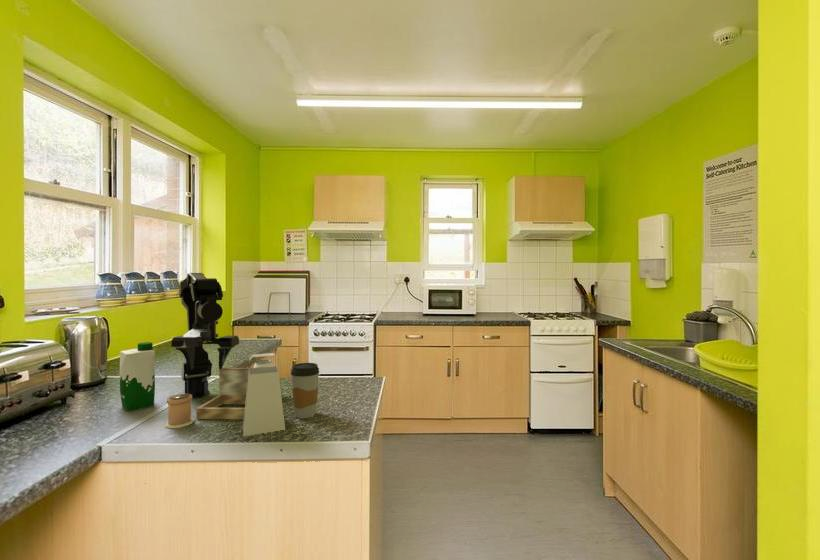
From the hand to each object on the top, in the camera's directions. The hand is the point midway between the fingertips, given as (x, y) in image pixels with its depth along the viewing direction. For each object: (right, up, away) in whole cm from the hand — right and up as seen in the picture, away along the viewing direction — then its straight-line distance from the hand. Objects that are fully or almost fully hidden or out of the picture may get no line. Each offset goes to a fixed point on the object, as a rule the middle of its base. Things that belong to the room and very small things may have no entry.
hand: (205, 368), depth 122 cm
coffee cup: (+32, -13, -4) cm, 35 cm away
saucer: (-2, -13, -11) cm, 17 cm away
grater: (+23, -14, -12) cm, 29 cm away
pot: (-2, -13, -11) cm, 17 cm away
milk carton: (-24, -13, +4) cm, 28 cm away
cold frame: (+9, -13, 0) cm, 16 cm away
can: (+12, -13, +15) cm, 23 cm away
